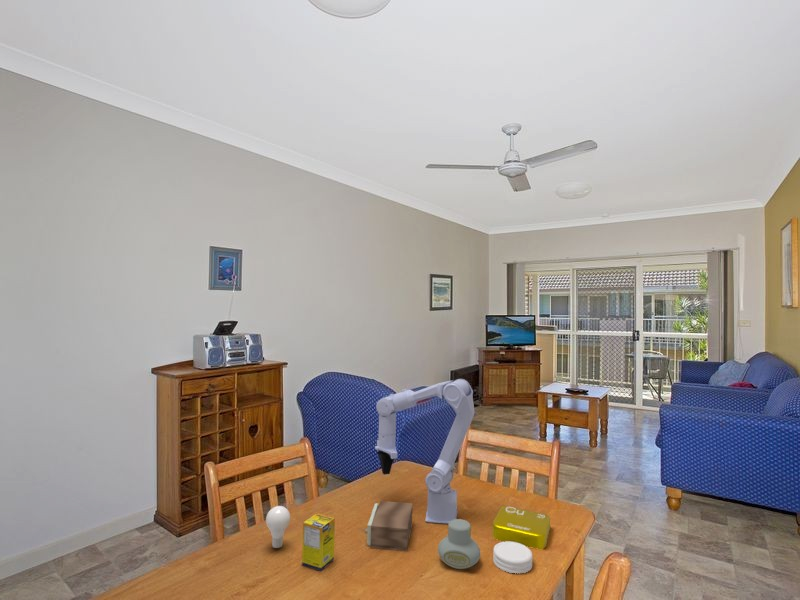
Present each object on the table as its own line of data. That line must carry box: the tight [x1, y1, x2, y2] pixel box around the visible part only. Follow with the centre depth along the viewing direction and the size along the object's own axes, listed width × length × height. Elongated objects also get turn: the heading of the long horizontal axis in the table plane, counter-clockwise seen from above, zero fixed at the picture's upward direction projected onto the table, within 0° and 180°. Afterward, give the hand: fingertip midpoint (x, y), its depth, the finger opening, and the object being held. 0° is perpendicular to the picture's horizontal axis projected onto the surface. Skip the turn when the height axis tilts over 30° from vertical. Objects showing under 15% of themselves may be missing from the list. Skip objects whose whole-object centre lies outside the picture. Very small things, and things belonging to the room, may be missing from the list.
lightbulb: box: [265, 505, 291, 549], centre depth 122 cm, size 6×6×11 cm
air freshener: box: [437, 518, 481, 570], centre depth 117 cm, size 11×8×10 cm
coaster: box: [492, 541, 533, 575], centre depth 117 cm, size 10×10×4 cm
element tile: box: [491, 505, 551, 550], centre depth 133 cm, size 15×15×5 cm
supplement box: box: [301, 513, 336, 572], centre depth 115 cm, size 6×6×11 cm
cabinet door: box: [364, 503, 379, 547], centre depth 131 cm, size 2×15×6 cm, turn 175°
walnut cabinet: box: [370, 500, 413, 552], centre depth 130 cm, size 10×16×6 cm, turn 173°
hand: (386, 473), depth 149 cm, fingers closed
